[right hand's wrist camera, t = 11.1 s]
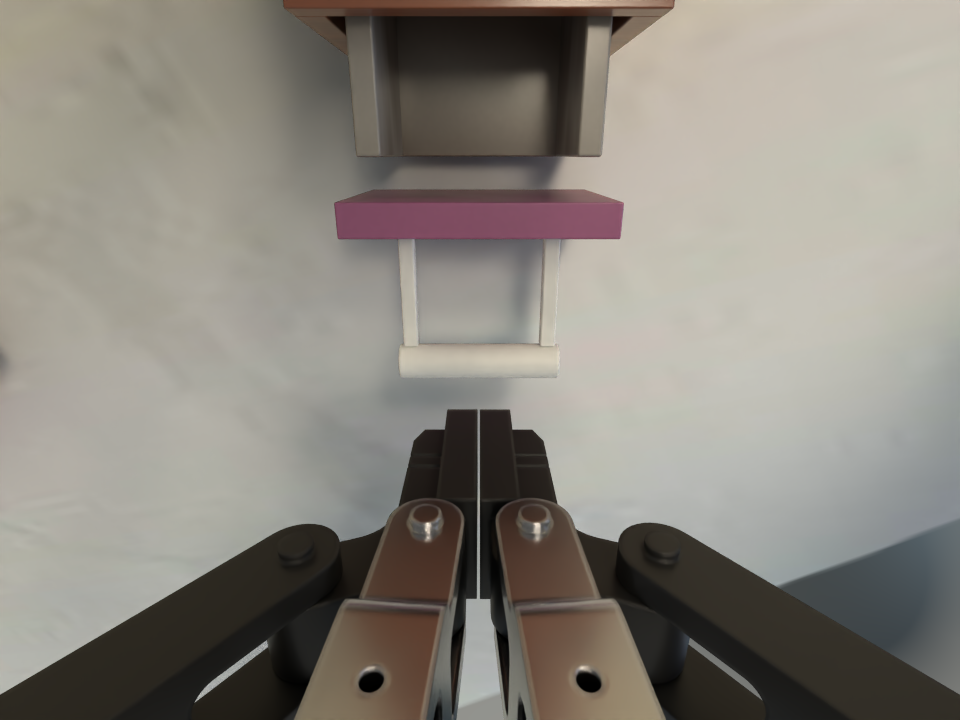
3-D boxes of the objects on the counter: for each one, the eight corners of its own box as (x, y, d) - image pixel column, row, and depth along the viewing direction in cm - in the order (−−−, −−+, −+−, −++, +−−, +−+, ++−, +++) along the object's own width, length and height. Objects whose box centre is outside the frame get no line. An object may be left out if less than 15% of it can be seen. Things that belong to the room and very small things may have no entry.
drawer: (574, 342, 26) (604, 401, 20) (384, 342, 26) (353, 402, 20) (607, -127, 19) (670, -263, 13) (350, -127, 19) (286, -263, 13)
